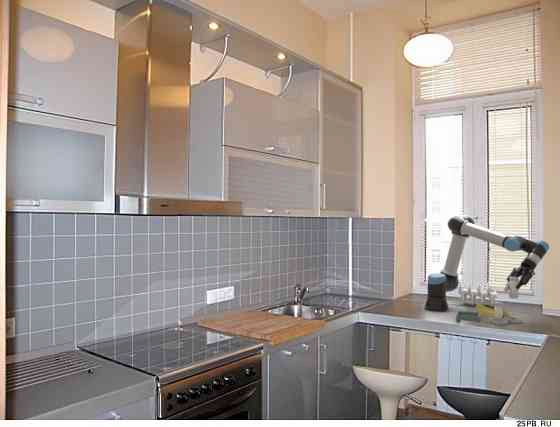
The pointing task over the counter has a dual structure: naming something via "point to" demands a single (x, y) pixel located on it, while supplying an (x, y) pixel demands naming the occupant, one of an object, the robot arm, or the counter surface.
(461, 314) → the tray
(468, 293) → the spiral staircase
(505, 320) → the fuse block
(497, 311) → the plain fuse
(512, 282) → the marked fuse
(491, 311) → the plastic component
